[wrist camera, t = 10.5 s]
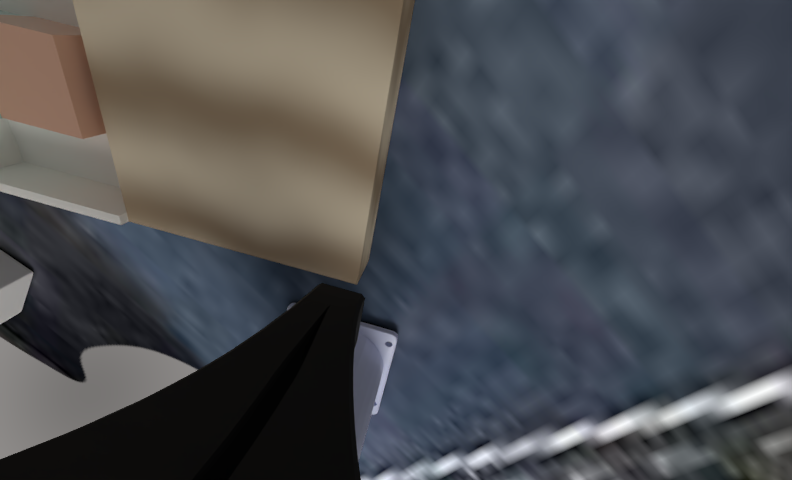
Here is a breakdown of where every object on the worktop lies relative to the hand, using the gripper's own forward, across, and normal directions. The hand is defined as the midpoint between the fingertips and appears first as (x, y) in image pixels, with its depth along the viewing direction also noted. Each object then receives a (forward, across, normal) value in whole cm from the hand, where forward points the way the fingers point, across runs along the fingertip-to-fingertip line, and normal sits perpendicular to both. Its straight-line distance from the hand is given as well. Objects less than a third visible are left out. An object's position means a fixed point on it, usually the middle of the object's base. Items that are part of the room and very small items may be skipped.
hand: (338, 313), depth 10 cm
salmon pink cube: (+10, +18, -2) cm, 20 cm away
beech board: (+10, +8, -2) cm, 13 cm away
